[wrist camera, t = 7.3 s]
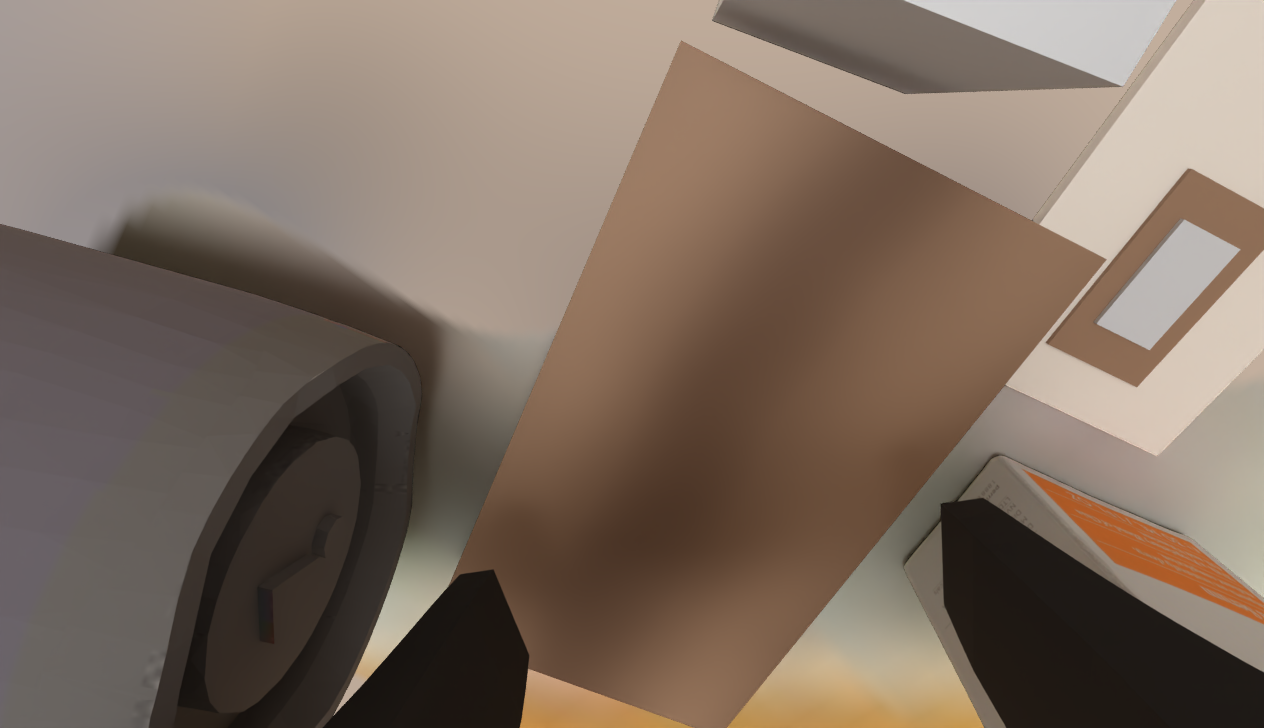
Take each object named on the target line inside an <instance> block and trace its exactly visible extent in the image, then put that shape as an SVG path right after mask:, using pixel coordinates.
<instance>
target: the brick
mask: <svg viewBox="0 0 1264 728" xmlns="http://www.w3.org/2000/svg"><path fill="white" fill-rule="evenodd" d="M1175 2H1176V0H719V2H718V4H717V7H716V11H715V13H714V16H713V19H712V21H714V22H716V23H719V24H722V25H724V26H727V27H729V28H732V29H735V30H737V31H740V32H743V33H745V34H748V35H751V36H753V37H756V38H758V39H761V40H764V41H766V42H769V43H772V44H774V45H777V46H780V47H783V48H785V49H788V50H790V51H793V52H796V53H798V54H801V55H804V56H806V57H809V58H811V59H814V60H816V61H819V62H822V63H824V64H827V65H830V66H833V67H835V68H838V69H840V70H843V71H846V72H848V73H851V74H854V75H856V76H859V77H861V78H864V79H867V80H870V81H872V82H874V83H877V84H880V85H882V86H885V87H888V88H890V89H893V90H896V91H898V92H901V93H904V94H916V93H945V92H946V93H947V92H976V91H1004V90H1005V91H1007V90H1038V89H1068V88H1097V87H1123V86H1124V84H1125V83H1126V81H1127V80H1128V78H1129V76H1130V75H1131V73H1132V71H1133V70H1134V68H1135V67H1136V65H1137V63H1138V62H1139V60H1140V58H1141V57H1142V55H1143V54H1144V52H1145V50H1146V49H1147V47H1148V46H1149V44H1150V42H1151V41H1152V39H1153V37H1154V36H1155V34H1156V33H1157V31H1158V29H1159V28H1160V26H1161V25H1162V23H1163V21H1164V19H1165V18H1166V16H1167V14H1168V13H1169V12H1170V10H1171V8H1172V7H1173V5H1174V3H1175Z"/></svg>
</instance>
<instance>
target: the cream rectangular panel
mask: <svg viewBox="0 0 1264 728" xmlns="http://www.w3.org/2000/svg"><path fill="white" fill-rule="evenodd" d="M1032 221H1033V222H1035V223H1037V224H1039V225H1041V226H1043V227H1045V228H1047V229H1049V230H1051V231H1053V232H1055V233H1057V234H1059V235H1060V236H1062V237H1064V238H1066V239H1068V240H1070V241H1072V242H1074V243H1076V244H1078V245H1080V246H1082V247H1084V248H1086V249H1088V250H1090V251H1092V252H1094V253H1096V254H1097V255H1099V256H1101V257H1103V258H1105V259H1107V260H1106V261H1105V262H1104V264H1103V265H1102V266H1101V267H1100V269H1099V270H1098V271H1097V272H1096V273H1095V275H1094V276H1093V277H1092V278H1091V280H1090V281H1089V282H1088V283H1087V285H1086V286H1085V287H1084V288H1083V289H1082V291H1081V292H1080V293H1079V294H1078V296H1077V297H1076V298H1075V299H1074V301H1073V302H1072V303H1071V304H1070V305H1069V307H1068V308H1067V309H1066V310H1065V312H1064V313H1063V314H1062V315H1061V317H1060V318H1059V319H1058V320H1057V322H1056V323H1055V324H1054V325H1053V326H1052V328H1051V329H1050V330H1049V331H1048V333H1047V334H1046V335H1045V336H1044V338H1043V339H1042V340H1041V341H1040V342H1039V344H1038V345H1037V346H1036V347H1035V349H1034V350H1033V351H1032V352H1031V354H1030V355H1029V356H1028V357H1027V358H1026V360H1025V361H1024V362H1023V363H1022V365H1021V366H1020V367H1019V368H1018V370H1017V371H1016V372H1015V373H1014V374H1013V376H1012V377H1011V378H1010V379H1009V381H1008V382H1007V383H1006V384H1005V385H1006V386H1008V387H1010V388H1012V389H1015V390H1017V391H1019V392H1021V393H1023V394H1025V395H1027V396H1030V397H1032V398H1034V399H1036V400H1038V401H1040V402H1042V403H1044V404H1047V405H1049V406H1051V407H1053V408H1055V409H1057V410H1059V411H1061V412H1064V413H1066V414H1068V415H1070V416H1072V417H1074V418H1076V419H1079V420H1081V421H1083V422H1085V423H1087V424H1089V425H1091V426H1093V427H1096V428H1098V429H1100V430H1102V431H1104V432H1106V433H1108V434H1111V435H1113V436H1115V437H1117V438H1119V439H1121V440H1123V441H1125V442H1128V443H1130V444H1132V445H1134V446H1136V447H1138V448H1140V449H1143V450H1145V451H1147V452H1149V453H1151V454H1153V455H1155V456H1158V455H1159V454H1160V453H1161V452H1162V451H1163V450H1164V449H1165V448H1166V447H1167V446H1168V445H1169V444H1170V443H1171V442H1172V441H1173V440H1174V439H1175V438H1176V437H1177V436H1178V435H1179V434H1180V433H1181V432H1182V431H1183V430H1184V429H1185V428H1186V427H1187V426H1188V425H1189V424H1190V423H1191V422H1192V421H1193V420H1194V419H1195V418H1196V417H1197V416H1198V415H1199V414H1200V413H1201V412H1202V411H1203V410H1204V409H1205V408H1206V407H1207V406H1208V405H1209V404H1210V403H1211V402H1212V401H1213V400H1214V399H1215V398H1216V397H1217V396H1218V395H1219V394H1220V393H1221V392H1222V391H1223V390H1224V389H1225V388H1226V387H1227V386H1228V385H1229V384H1230V383H1231V382H1232V381H1233V380H1234V379H1235V378H1236V377H1237V376H1238V375H1239V374H1240V373H1241V372H1242V371H1243V370H1244V369H1245V368H1246V367H1247V366H1248V365H1249V364H1250V363H1251V362H1252V361H1253V360H1254V359H1255V358H1256V357H1257V356H1258V355H1259V354H1260V353H1261V352H1262V351H1263V350H1264V0H1194V1H1193V2H1192V3H1191V5H1190V6H1189V7H1188V9H1187V10H1186V11H1185V13H1184V14H1183V16H1182V17H1181V18H1180V20H1179V21H1178V22H1177V24H1176V25H1175V26H1174V28H1173V29H1172V30H1171V32H1170V33H1169V35H1168V36H1167V37H1166V39H1165V40H1164V41H1163V43H1162V44H1161V45H1160V47H1159V48H1158V50H1157V51H1156V52H1155V54H1154V55H1153V57H1152V58H1151V59H1150V60H1149V62H1148V63H1147V65H1146V66H1145V67H1144V69H1143V70H1142V71H1141V73H1140V74H1139V75H1138V77H1137V78H1136V79H1135V81H1134V82H1133V84H1132V85H1131V86H1130V88H1129V89H1128V90H1127V92H1126V93H1125V94H1124V96H1123V97H1122V98H1121V100H1120V101H1119V103H1118V104H1117V105H1116V107H1115V108H1114V110H1113V111H1112V112H1111V114H1110V115H1109V116H1108V118H1107V119H1106V120H1105V122H1104V123H1103V124H1102V126H1101V127H1100V128H1099V130H1098V131H1097V132H1096V134H1095V135H1094V137H1093V138H1092V139H1091V141H1090V142H1089V144H1088V145H1087V146H1086V147H1085V149H1084V150H1083V152H1082V153H1081V154H1080V156H1079V157H1078V158H1077V160H1076V161H1075V162H1074V164H1073V165H1072V167H1071V168H1070V169H1069V171H1068V172H1067V173H1066V175H1065V176H1064V177H1063V179H1062V180H1061V182H1060V183H1059V184H1058V186H1057V187H1056V188H1055V190H1054V191H1053V192H1052V194H1051V195H1050V196H1049V198H1048V199H1047V201H1046V202H1045V203H1044V205H1043V206H1042V207H1041V209H1040V210H1039V211H1038V213H1037V214H1036V216H1035V217H1034V218H1033V220H1032Z"/></svg>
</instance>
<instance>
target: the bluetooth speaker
mask: <svg viewBox="0 0 1264 728" xmlns="http://www.w3.org/2000/svg"><path fill="white" fill-rule="evenodd" d="M421 399H422V389H421V380H420V375H419V372H418V370H417V367H416V365H415V362H414V360H413V359H412V358H411V356H410V355H409V354H408V353H407V352H406V351H405V350H404V349H403V348H401V347H400V346H398V345H396V344H393V343H390V342H388V341H385V340H383V339H380V338H378V337H375V336H373V335H370V334H368V333H365V332H363V331H360V330H358V329H355V328H353V327H350V326H347V325H345V324H342V323H338V322H334V321H332V320H329V319H326V318H324V317H321V316H318V315H316V314H313V313H310V312H307V311H304V310H301V309H298V308H295V307H292V306H289V305H286V304H283V303H280V302H277V301H274V300H271V299H267V298H264V297H261V296H258V295H255V294H252V293H249V292H245V291H241V290H238V289H234V288H230V287H227V286H223V285H220V284H216V283H212V282H209V281H205V280H202V279H198V278H194V277H191V276H187V275H184V274H180V273H176V272H173V271H169V270H166V269H162V268H158V267H155V266H151V265H148V264H144V263H140V262H137V261H133V260H130V259H126V258H122V257H119V256H115V255H112V254H108V253H104V252H101V251H97V250H94V249H90V248H86V247H83V246H79V245H76V244H72V243H68V242H65V241H61V240H58V239H54V238H50V237H47V236H43V235H40V234H36V233H32V232H29V231H25V230H21V229H17V228H13V227H10V226H6V225H2V224H0V728H323V727H324V726H325V724H326V723H327V722H328V721H329V720H330V719H331V718H332V717H333V715H334V713H335V711H336V709H337V707H338V706H339V704H340V702H341V700H342V698H343V696H344V694H345V692H346V690H347V688H348V686H349V684H350V682H351V680H352V678H353V676H354V674H355V672H356V669H357V667H358V665H359V663H360V661H361V658H362V656H363V654H364V651H365V649H366V647H367V645H368V642H369V640H370V637H371V635H372V632H373V630H374V627H375V625H376V622H377V620H378V617H379V615H380V612H381V609H382V607H383V604H384V601H385V599H386V596H387V593H388V590H389V588H390V585H391V582H392V579H393V576H394V573H395V570H396V566H397V563H398V560H399V557H400V554H401V550H402V547H403V543H404V540H405V536H406V533H407V528H408V523H409V518H410V513H411V508H412V488H413V465H414V453H415V442H416V431H417V423H418V417H419V411H420V405H421Z"/></svg>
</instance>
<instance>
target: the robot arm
mask: <svg viewBox="0 0 1264 728" xmlns="http://www.w3.org/2000/svg"><path fill="white" fill-rule="evenodd" d="M941 533H942V565H943V598H944V606H945V608H946V611H947V613H948V615H949V617H950V620H951V622H952V624H953V627H954V629H955V631H956V634H957V636H958V638H959V640H960V643H961V645H962V647H963V649H964V651H965V654H966V656H967V658H968V660H969V662H970V664H971V667H972V669H973V671H974V673H975V675H976V676H977V678H978V680H979V682H980V683H981V685H982V687H983V689H984V690H985V692H986V694H987V695H988V697H989V699H990V701H991V702H992V704H993V706H994V708H995V709H996V711H997V713H998V714H999V716H1000V718H1001V720H1002V721H1003V723H1004V725H1005V727H1006V728H1264V672H1262V671H1261V670H1259V669H1257V668H1255V667H1253V666H1251V665H1250V664H1248V663H1246V662H1244V661H1242V660H1241V659H1239V658H1237V657H1235V656H1234V655H1232V654H1230V653H1229V652H1227V651H1225V650H1223V649H1222V648H1220V647H1218V646H1216V645H1215V644H1213V643H1211V642H1209V641H1208V640H1206V639H1204V638H1203V637H1201V636H1199V635H1197V634H1196V633H1194V632H1192V631H1190V630H1189V629H1187V628H1185V627H1184V626H1182V625H1180V624H1178V623H1177V622H1175V621H1173V620H1172V619H1170V618H1168V617H1167V616H1165V615H1163V614H1162V613H1160V612H1158V611H1157V610H1155V609H1153V608H1152V607H1150V606H1148V605H1147V604H1145V603H1144V602H1142V601H1140V600H1139V599H1137V598H1135V597H1134V596H1132V595H1131V594H1129V593H1127V592H1126V591H1124V590H1123V589H1121V588H1120V587H1118V586H1116V585H1115V584H1113V583H1112V582H1110V581H1108V580H1107V579H1105V578H1104V577H1102V576H1101V575H1099V574H1097V573H1096V572H1094V571H1093V570H1091V569H1090V568H1088V567H1087V566H1085V565H1084V564H1082V563H1080V562H1079V561H1077V560H1076V559H1074V558H1073V557H1071V556H1070V555H1068V554H1067V553H1065V552H1064V551H1062V550H1061V549H1059V548H1058V547H1056V546H1055V545H1053V544H1052V543H1050V542H1049V541H1047V540H1046V539H1044V538H1043V537H1041V536H1040V535H1038V534H1037V533H1035V532H1034V531H1032V530H1031V529H1029V528H1028V527H1026V526H1025V525H1023V524H1022V523H1020V522H1019V521H1018V520H1016V519H1015V518H1013V517H1012V516H1010V515H1009V514H1007V513H1006V512H1004V511H1003V510H1001V509H1000V508H998V507H997V506H995V505H994V504H992V503H991V502H989V501H988V500H986V499H985V498H977V499H970V500H964V501H957V502H950V503H943V504H941ZM528 664H529V653H528V651H527V648H526V646H525V643H524V641H523V639H522V636H521V634H520V631H519V629H518V627H517V624H516V622H515V619H514V617H513V615H512V612H511V610H510V607H509V605H508V603H507V600H506V598H505V595H504V593H503V591H502V588H501V586H500V583H499V581H498V579H497V576H496V574H495V571H494V569H492V570H485V571H479V572H472V573H465V574H460V575H459V576H458V577H457V578H456V579H455V580H454V581H453V582H452V583H451V584H450V585H449V587H448V588H447V589H446V590H445V591H444V592H443V593H442V594H441V596H440V597H439V598H438V599H437V600H436V601H435V602H434V604H433V605H432V606H431V607H430V608H429V609H428V611H427V612H426V613H425V614H424V615H423V616H422V617H421V619H420V620H419V621H418V622H417V623H416V624H415V626H414V627H413V628H412V629H411V630H410V631H409V633H408V634H407V635H406V636H405V637H404V638H403V640H402V641H401V642H400V643H399V644H398V645H397V646H396V647H395V649H394V650H393V651H392V652H391V653H390V654H389V655H388V657H387V658H386V659H385V660H384V661H383V662H382V663H381V665H380V666H379V667H378V668H377V669H376V670H375V671H374V673H373V674H372V675H371V676H370V677H369V678H368V679H367V681H366V682H365V683H364V684H363V685H362V686H361V687H360V688H359V689H358V690H357V691H356V693H355V694H354V695H353V696H352V697H351V698H350V699H349V700H348V701H347V702H346V703H345V704H344V705H343V706H342V707H341V708H340V710H339V711H338V712H337V713H336V714H335V715H334V716H333V717H332V718H331V719H330V720H329V721H328V722H327V723H326V724H325V726H324V727H323V728H520V723H521V718H522V711H523V704H524V697H525V690H526V681H527V673H528Z"/></svg>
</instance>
